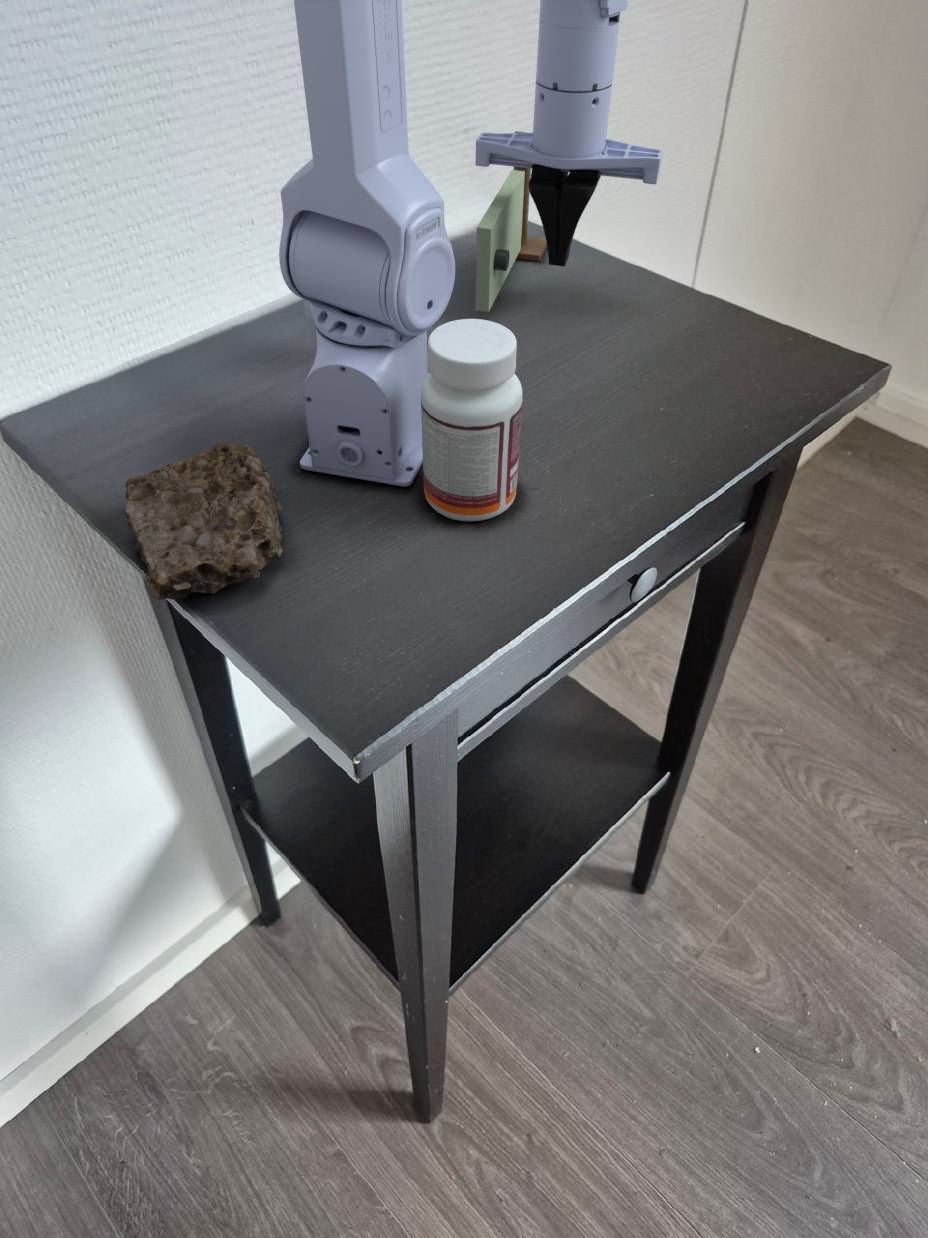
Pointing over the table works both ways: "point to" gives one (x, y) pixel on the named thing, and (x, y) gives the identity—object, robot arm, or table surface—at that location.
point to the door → (499, 240)
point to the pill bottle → (471, 420)
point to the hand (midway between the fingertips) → (558, 260)
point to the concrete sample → (205, 521)
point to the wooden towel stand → (529, 244)
